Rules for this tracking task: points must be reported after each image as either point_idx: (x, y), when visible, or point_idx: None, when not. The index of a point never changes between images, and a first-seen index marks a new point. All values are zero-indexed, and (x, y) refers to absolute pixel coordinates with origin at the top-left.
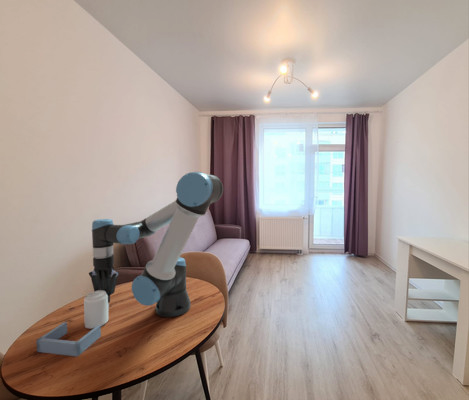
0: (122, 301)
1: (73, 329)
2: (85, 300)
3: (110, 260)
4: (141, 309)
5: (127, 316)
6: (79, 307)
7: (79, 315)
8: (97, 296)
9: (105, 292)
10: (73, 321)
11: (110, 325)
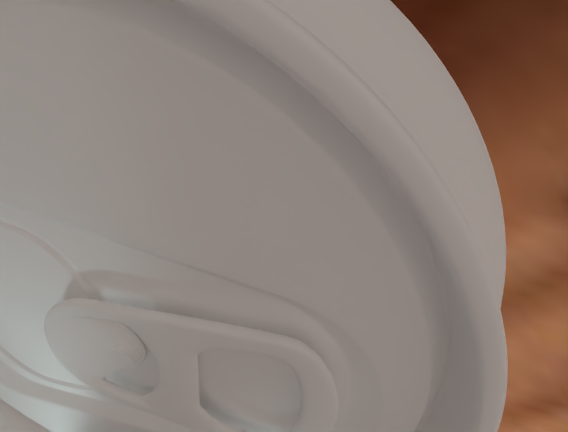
0: None
1: (494, 45)
2: (354, 17)
3: None
4: None
5: None
6: (562, 381)
7: (520, 277)
8: (12, 266)
9: (2, 411)
10: (547, 193)
11: None
